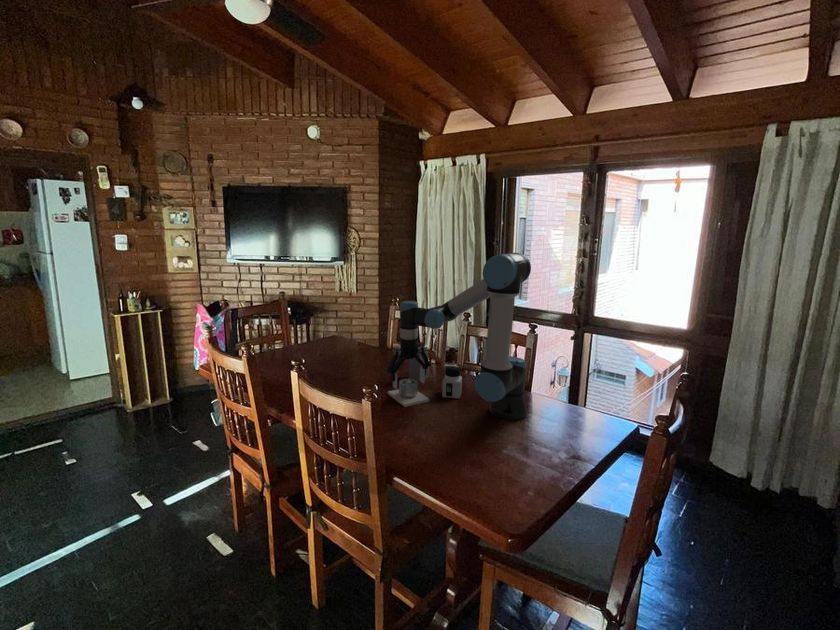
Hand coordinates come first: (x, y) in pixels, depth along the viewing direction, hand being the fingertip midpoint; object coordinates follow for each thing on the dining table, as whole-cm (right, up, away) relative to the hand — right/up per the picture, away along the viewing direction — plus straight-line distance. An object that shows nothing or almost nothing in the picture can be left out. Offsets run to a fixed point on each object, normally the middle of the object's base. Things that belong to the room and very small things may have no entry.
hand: (409, 385), depth 190 cm
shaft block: (0, -6, +1) cm, 6 cm away
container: (+19, -5, +6) cm, 21 cm away
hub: (0, -3, +1) cm, 4 cm away
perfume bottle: (+4, -1, +25) cm, 26 cm away
